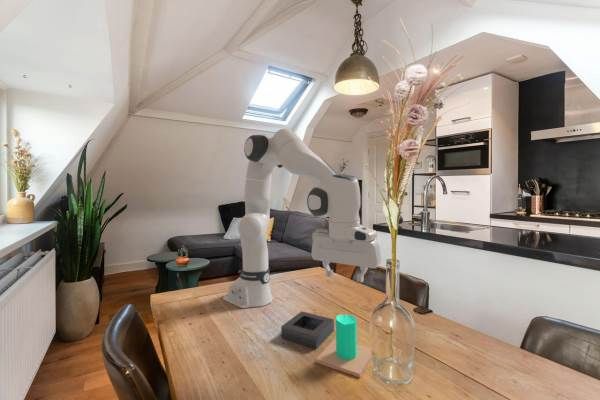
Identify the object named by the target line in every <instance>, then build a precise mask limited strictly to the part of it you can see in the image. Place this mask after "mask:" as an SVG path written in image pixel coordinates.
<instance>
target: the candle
mask: <svg viewBox="0 0 600 400" xmlns="http://www.w3.org/2000/svg"><path fill="white" fill-rule="evenodd" d="M357 321H358V319H357V318H356V317H355V316H353V315H349V314H338V315H336V317H335V338H336V354H337V356H338V357H339V358H341V359H344V360H351V359H354V358H355V357H356V356H357V345H358V343H357V340H358V337H357V334H358V332H357V331H358V329H357V327H358V326H357V325H358V322H357Z"/></svg>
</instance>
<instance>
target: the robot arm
mask: <svg viewBox="0 0 600 400" xmlns="http://www.w3.org/2000/svg"><path fill="white" fill-rule="evenodd" d="M243 148H244V149H243V151H244V155H245V158H246V159H247V160H248V165H247V169H246V175H245V184H244V196H243V199H244V206H245V208H244V209H245V211H244V212H245V214H244V216H242V217H241V219H240V220H239V222H238V228H237V229H238V234H239V239H240V245H241V250H242V251H241V252H242V268H241V269H239V270H238V272H237V273H238V274H240V275H239V277H238V278H237V279H236V280H234V281H233V282H232V283H231V284H230V285H229V287H228V293H227V294H225V295H224V296H223V298H222V300H223V301H225V302H227V303H229V304H232V305H233V306H236V307H238V308H241V309H248V308H257V307H263V306H266V305H268V304H270V303H272V301H274V300H273V299H274V298H273V295H272V290H271V285H270V273H271V272H270V267H269V249H268V243H267V241H268V240H267V231H268V229H269V227H270V220H271V219H270V215H271V214H270V213H271V190H272V181H273V169H274V168H275V167H276V166H277V168H279V169H281V168H284V169H285V170H286V171H287V172H289V173H291V174H293V175H297V176H303V177H308V178H312V179H315V180H317V181H319V182H321V183H322V184H321V185H319V186H315V187H313V188H312V189H311V190H310V191H309V193H308V194H307V199H306V201H307V202H306V204H307V205H306V206H307V209H308V210H309V211H308V212H310V213H311V215H313V216H314V217H318V218H329V219H328V229H321V228H317V229H316V230H314V231H313V232H312V234H311V235H312V237H311V238H312V239H311V240H312V244H311V253H310V254H311V258H312V260H314V261H321V262H322V266H323V268H324V270H325V277H330V278H332V277H333V275H334V270H333V269H331V267H330V263H334V264H341V265H347V266H355V267H359V268H360V271H361V272H360V273H358V274H357V275H356V282H358V283H363V282H364V277H365V274H366V273H367V271H368V269H377V267H379V266H380V265H381V260H382V259H381V257H382V255H381V249H380V247H381V246H380V243H379V242H378V240H377V239H376V238H377V237H378V232H377V231H376V230H375V229H372V228H371V227H370V228H369V227H367V226H365V225H362V224H361V217H360V213H359V212H360V210H361V207H362V201H363V199H362V195H361V190H360V185H359V180H358V178H356V177H355V176H353V175H349V174H339V173H338V172H337V171H336V170H335V169H334V167H333V168H332V166H331V165H329V163H327V162H326V161H325V160H324V159H323V158H322V157H319V155H317V154H316V153H315V152H313V150H311V149H310V148H309V147H308V146H307V145H306V143H305V142H304V140H302V138H300V136H299V135H297V134H296V133H295V132H294V131H293V130H291V129H289V128H280V129H279V130H277V131H276V132H275V133H274V134H273V136H267V135H264V134H253V135H252V134H251V135H250V136H249V137H247V139H246V140H245V142H244V147H243Z"/></svg>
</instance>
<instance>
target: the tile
mask: <svg viewBox="0 0 600 400" xmlns="http://www.w3.org/2000/svg"><path fill="white" fill-rule="evenodd" d="M372 358H373V357H372V355H371V348H370V347H367V346H364V345H361V344H357V356H356V357H355V358H354V359H351V360H344V359H341V358H339V357H338V356H337V354H336V337H335V338H333V339H332V341H331V342H330V343H329V344H328V345H327V346H326V347H325V348H324V350H323V351H322V352H321V353H320V354H319V355H318V356H317V357H316V358H315V363H316V364H320V365H322V366H325V367H328V368H330V369H334V370H336V371H340V372H343V373H345V374H349V375H352V376H354V377H357V378H361V377H362V376H363V374H364V372H365V370H366V369H367V366H368V365H369V364H370V362H371V360H372Z"/></svg>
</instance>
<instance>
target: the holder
mask: <svg viewBox="0 0 600 400" xmlns="http://www.w3.org/2000/svg"><path fill="white" fill-rule="evenodd" d="M307 328H308V329H307ZM334 332H335V319H333V318H329V317H325V316H321V315H317V314H314V313H309V312H305V311H300V312H299V313H298V314H296V315H295V316H293V317H292V318H291V319H289V320H288V321H287V322H285V323H284V324H283V325H281V332H280V333H281V334H280V335H281V339H283V340H286V341H289V342H291V343H292V342H293V343H295V344H298V345H301V346H306V347H308V348H311V349H314V350H317V349H318V348H319V347H321V345H322V344H323V343H324V342H326V340H327V339H328V338H329V337H330V336H331V335H332V334H333V333H334Z"/></svg>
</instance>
